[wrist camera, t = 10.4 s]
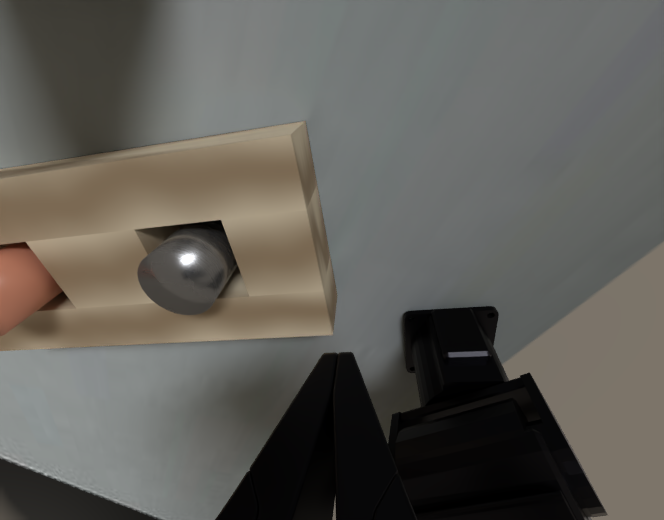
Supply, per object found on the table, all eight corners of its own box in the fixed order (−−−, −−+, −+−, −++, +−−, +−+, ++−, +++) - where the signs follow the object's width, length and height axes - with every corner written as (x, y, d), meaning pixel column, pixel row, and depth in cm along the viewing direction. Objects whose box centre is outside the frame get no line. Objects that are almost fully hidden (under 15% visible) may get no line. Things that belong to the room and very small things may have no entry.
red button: (95, 279, 22) (24, 335, 17) (48, 283, 23) (-32, 338, 18) (61, 229, 20) (-29, 278, 15) (11, 235, 21) (-91, 284, 16)
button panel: (337, 295, 23) (332, 335, 19) (42, 315, 27) (-4, 351, 23) (305, 120, 17) (290, 134, 13) (-72, 180, 20) (-158, 202, 17)
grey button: (256, 258, 21) (226, 312, 16) (202, 263, 22) (159, 317, 17) (238, 204, 19) (198, 248, 14) (179, 211, 20) (122, 255, 15)
